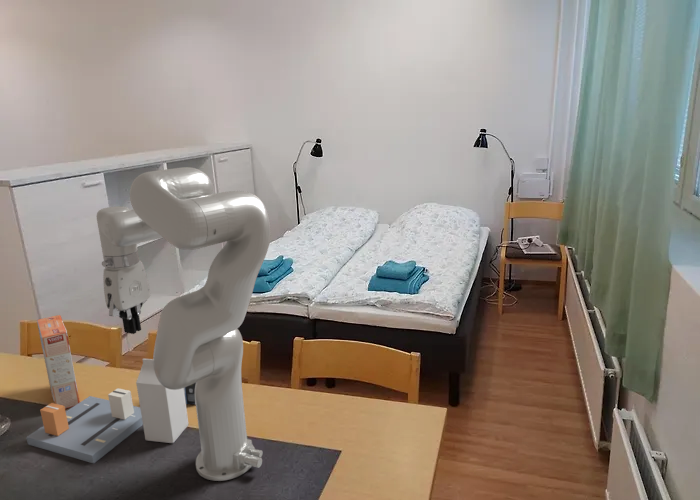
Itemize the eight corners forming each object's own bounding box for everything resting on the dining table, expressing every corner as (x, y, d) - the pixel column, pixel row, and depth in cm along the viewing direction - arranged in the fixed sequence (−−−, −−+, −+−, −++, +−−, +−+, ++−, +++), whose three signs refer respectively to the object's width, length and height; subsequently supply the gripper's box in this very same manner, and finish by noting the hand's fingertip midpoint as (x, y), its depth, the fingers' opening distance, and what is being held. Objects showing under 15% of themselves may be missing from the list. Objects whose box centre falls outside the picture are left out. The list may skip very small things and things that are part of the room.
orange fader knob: (69, 428, 120) (64, 405, 119) (57, 436, 118) (52, 412, 116) (56, 425, 122) (51, 402, 120) (45, 432, 119) (40, 409, 117)
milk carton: (173, 444, 117) (162, 368, 112) (145, 440, 118) (133, 366, 113) (188, 425, 124) (179, 353, 119) (162, 422, 125) (151, 351, 120)
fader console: (152, 417, 128) (151, 409, 127) (93, 463, 111) (92, 455, 111) (91, 402, 135) (89, 395, 134) (27, 444, 118) (26, 436, 118)
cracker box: (82, 404, 134) (67, 330, 128) (55, 413, 131) (39, 337, 125) (74, 382, 145) (61, 313, 139) (50, 389, 142) (35, 319, 136)
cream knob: (134, 412, 126) (130, 390, 124) (124, 419, 123) (121, 397, 121) (121, 409, 127) (117, 387, 125) (112, 416, 124) (108, 394, 123)
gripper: (108, 270, 113) (121, 347, 118) (157, 251, 127) (166, 321, 132) (82, 268, 116) (96, 342, 121) (133, 249, 129) (143, 317, 134)
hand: (132, 331), depth 126 cm, fingers closed
